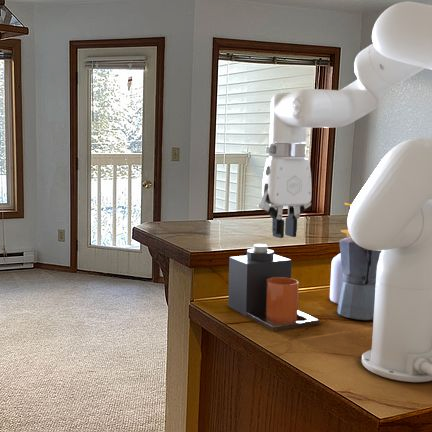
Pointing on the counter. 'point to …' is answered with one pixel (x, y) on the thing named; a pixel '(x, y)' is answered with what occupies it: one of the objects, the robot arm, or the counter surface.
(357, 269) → the moka pot
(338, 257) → the soap bottle
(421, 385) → the counter surface
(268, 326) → the cup bay
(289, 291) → the cup
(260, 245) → the brew button
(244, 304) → the grey box with dial
